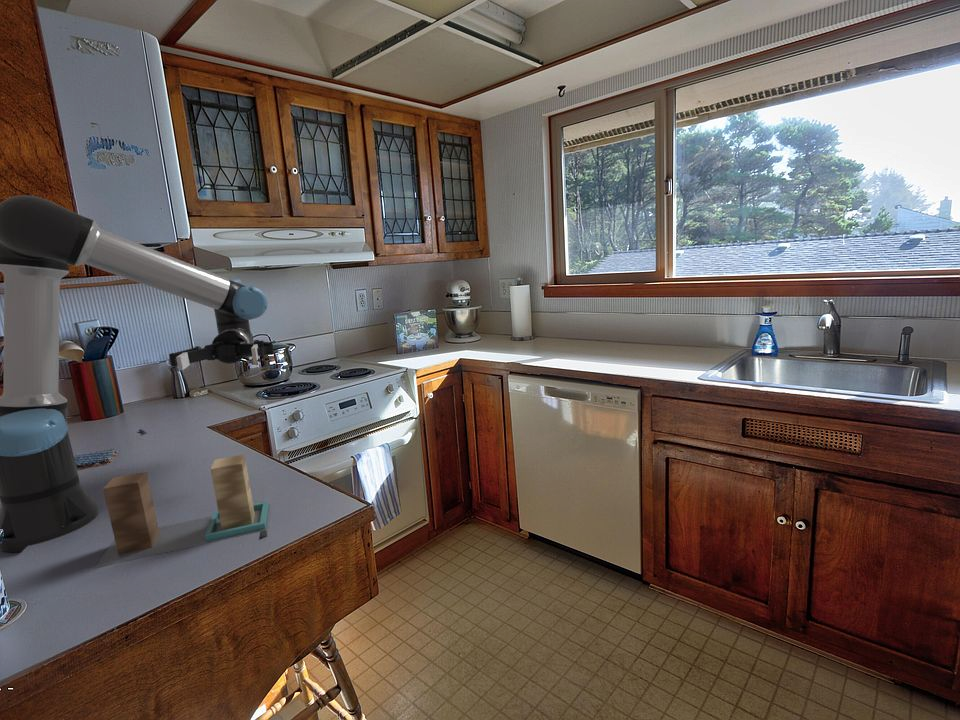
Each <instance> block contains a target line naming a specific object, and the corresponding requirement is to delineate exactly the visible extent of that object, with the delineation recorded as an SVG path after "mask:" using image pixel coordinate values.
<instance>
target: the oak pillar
mask: <svg viewBox="0 0 960 720" xmlns="http://www.w3.org/2000/svg"><path fill="white" fill-rule="evenodd" d="M245 455H246V454H239V455H234V456H227V457H222V458H218V459H216V458H215V459H214V461H213V463H212V465H211V467H210V474H211V478H212V479H211V480H212V484H213V489H214V496H215V501H216V505H217V510H218V511H217V512H219V518H220V523H221V528H222V530H227V529H231V528H236V527H241V526H245V525H250V524H253V520H254V515H255V512H254V506H253V504H254V501H253V496H252V490H251V485H250V478H249V474H248V466H247V461H246V456H245Z"/></svg>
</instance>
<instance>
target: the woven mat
mask: <svg viewBox="0 0 960 720" xmlns="http://www.w3.org/2000/svg"><path fill="white" fill-rule="evenodd" d="M116 453H117V454H116ZM118 454H119V451H117V449H115V448H113V449H112V448H110V449H107V450H106V449H105V450H103V451H96V452H89V454H88V453H84V454H79V455H75V456H74V459H75V464H76V468H77V471H79V469H80V470H84V469H89V466H90V468H94V467H98V466H99V465H101V466H105V465H104V464H106V465H109V464H108V463H109V462H110V463H112V462H114V459H115V457H116V456H117V455H118ZM114 456H115V457H114ZM112 459H113V460H112ZM99 467H100V466H99Z"/></svg>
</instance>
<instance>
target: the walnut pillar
mask: <svg viewBox="0 0 960 720" xmlns="http://www.w3.org/2000/svg"><path fill="white" fill-rule="evenodd" d="M102 490H103V494H104V498H105V503H106V507H107V511H108V515H109V520H110V525H111V528H112V534H113V538H114V540H115V542H116V547H117V551H118V555H119V554H124V553H129V552H133V551H138V550H142V549H147V548H152V547H153V545H154V543H155V541H156V539H157V538H158V536H159V534H160V533H159V528H158V527H159V525H158V520H157V515H156V510H155V505H154V500H153V496H152V492H151V486H150V482H149V477H148V473H147V471H143V472H137V473H133V474H132V473H131V474H127V475H126V474H125V475H120V476H116V477H112V478H111V480H110V481H109V482H108V483H106V485H105V486H104V487H103V489H102Z"/></svg>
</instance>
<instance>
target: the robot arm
mask: <svg viewBox="0 0 960 720" xmlns="http://www.w3.org/2000/svg"><path fill="white" fill-rule="evenodd" d="M70 265H72V266H74V267H79V266H82V265H87V266H89V267H93V268H95V269H98V270H102V271H104V272H107V273H109V274H113V275H116V276H119V277H121V278H124V279H127V280H130V281H134V282H136V283H138V284H141V285H145V286H147V287H151V288H153V289H157V290H159V291H162V292H165V293H168V294H171V295H173V296H177V297H179V298H183V299H186V300H188V301H191V302H194V303H197V304H200V305H203V306H205V307H208V308H211V309H213V312H214V317H215V321H216V329H217V334H218V335H216V336H215V337H214V338H213V340H212V342H211V343H210V344H207V345H205V346H204V347H203V348H202V347H201V346H199V345H198V346H194V347H192V348H188V349H184V350H180V351H175V352H171V353H169V354H168V356H169V362H170V366H171V367H177V368H178V369H177V370H178V371H183V370H185V369H187V368H188V367H189V366H190V365H191V364H193V363H194V364H195V363H197V362H201V361H202V362H203V361H205V360H207V361H216V360H218V361H219V362H221V363H223V364H229V365H230V364H236V363H238V362H240V361H241V360H243V358H244V357H247V356H251V357H252V361H253V362H257V361H258V360H259V359H260V357H265V356H266V355H274V354H275V350H274V344H273V342H272V341H265V340H259V339H255V340H254V336H253V333H252V332H251V327H250V320H254V319H258V318H261V316H263V315H264V314H265V312H266V311H267V309H268V299H267V296H266V294H265V292H263V290H261V289H260V288H258V287H255V286H252V285H244V284H243V282H242V280H241V279H229V278H227V277H224V276H222V275H219V274H216V273H214V272H212V271H209V270H206V269H204V268H201V267H199V266H197V265H193V264H191V263H188V262H186V261H183V260H180V259H178V258H176V257H173V256H171V255H168V254H165V253H163V252H160V251H158V250H155V249H153V248H150V247H148V246H146V245H142V244H140V243H138V242H135V241H133V240H130V239H129V238H128V239H127V238H125V237H123V236H120V235H117V234H115V233H112V232H110V231H107V230H105V229H102V228H100V227H99V225H98V223H97V222H96V220H94V219H91V218H89V217H86V216H83V215H82V214H79V213H77V212H75V211H73V210H70V209H68V208H66V207H63V206H62V205H60V204H57V203H55V202H54V201H51V200H50V199H46V198H43V197H40V196H35V195H29V194H28V195H27V194H24V195H21V194H20V195H15V196H10V197H9V198H7V199H3V200H2V201H1V202H0V273H2V275H3V393H2V395H0V503H1V508H0V529H3V530H4V537H3V540H2V543H1V544H0V550H1V551H2V552H5V553H18V552H19V553H21V552H23V551H24V550H25V549H26V548H27V547H29V546H31V545H32V546H33V545H37V544H41V543H45V542H48V541H51V540H54V539H57V538H60V537H63V536H66V535H68V534H71V533H73V532H75V531H78V530H79V529H81V528H83V527H85V526H87V525H88V524H90V523H91V522H92V521H94V520H95V519H96V518H97V517H98V515H99V509H98V506H97V504H96V503H95V501H94V500H93V499H92V497H91V495H89V493H88V492H87V491H86V489H85V488H84V487H83V485H82V484H81V482H80V477H79V473H78V470H77V468H76V464H75V459H74V457H75V456H74V452H73V448H72V443H71V440H70V439H71V438H70V435H69V432H68V431H69V426H68V425H69V424H68V398H66V397H65V396H63V395H62V394H61V393H60V392H59V377H60V376H59V375H60V373H59V371H60V364H59V363H60V303H61V302H60V296H61V295H60V294H61V292H60V290H61V288H60V287H61V286H60V285H61V280H62V278H64V277H66V276H67V275H68V274H70Z"/></svg>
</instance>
